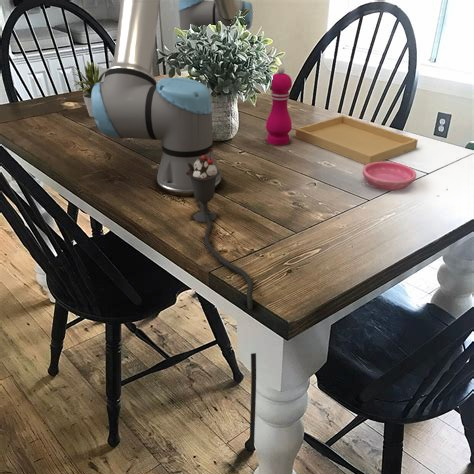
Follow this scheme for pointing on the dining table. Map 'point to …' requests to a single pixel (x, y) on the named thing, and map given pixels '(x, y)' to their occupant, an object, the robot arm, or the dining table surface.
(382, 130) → the tray
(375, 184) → the saucer
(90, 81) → the house plant
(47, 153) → the dining table surface
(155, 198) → the dining table surface
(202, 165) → the sundae
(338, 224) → the dining table surface
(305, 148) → the dining table surface
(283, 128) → the pepper mill
